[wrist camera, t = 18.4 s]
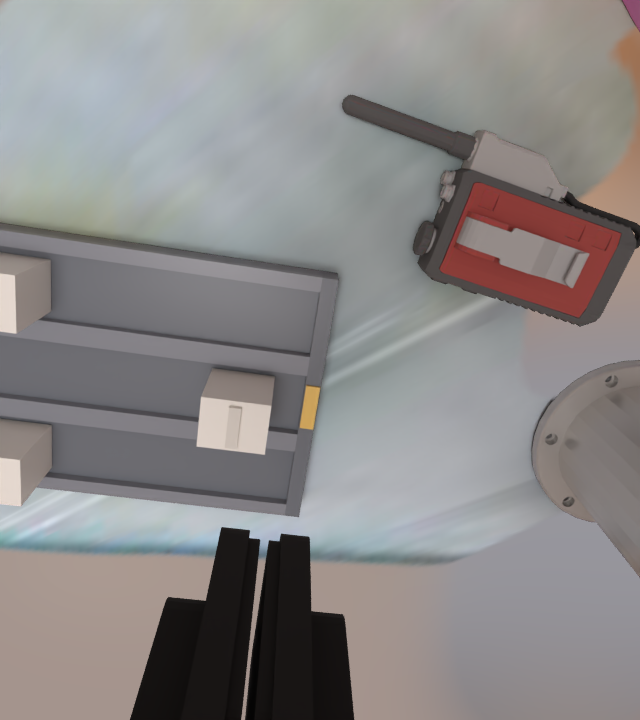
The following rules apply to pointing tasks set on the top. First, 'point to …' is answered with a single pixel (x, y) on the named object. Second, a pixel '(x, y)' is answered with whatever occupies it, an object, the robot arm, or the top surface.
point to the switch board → (165, 368)
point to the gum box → (633, 10)
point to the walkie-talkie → (513, 225)
